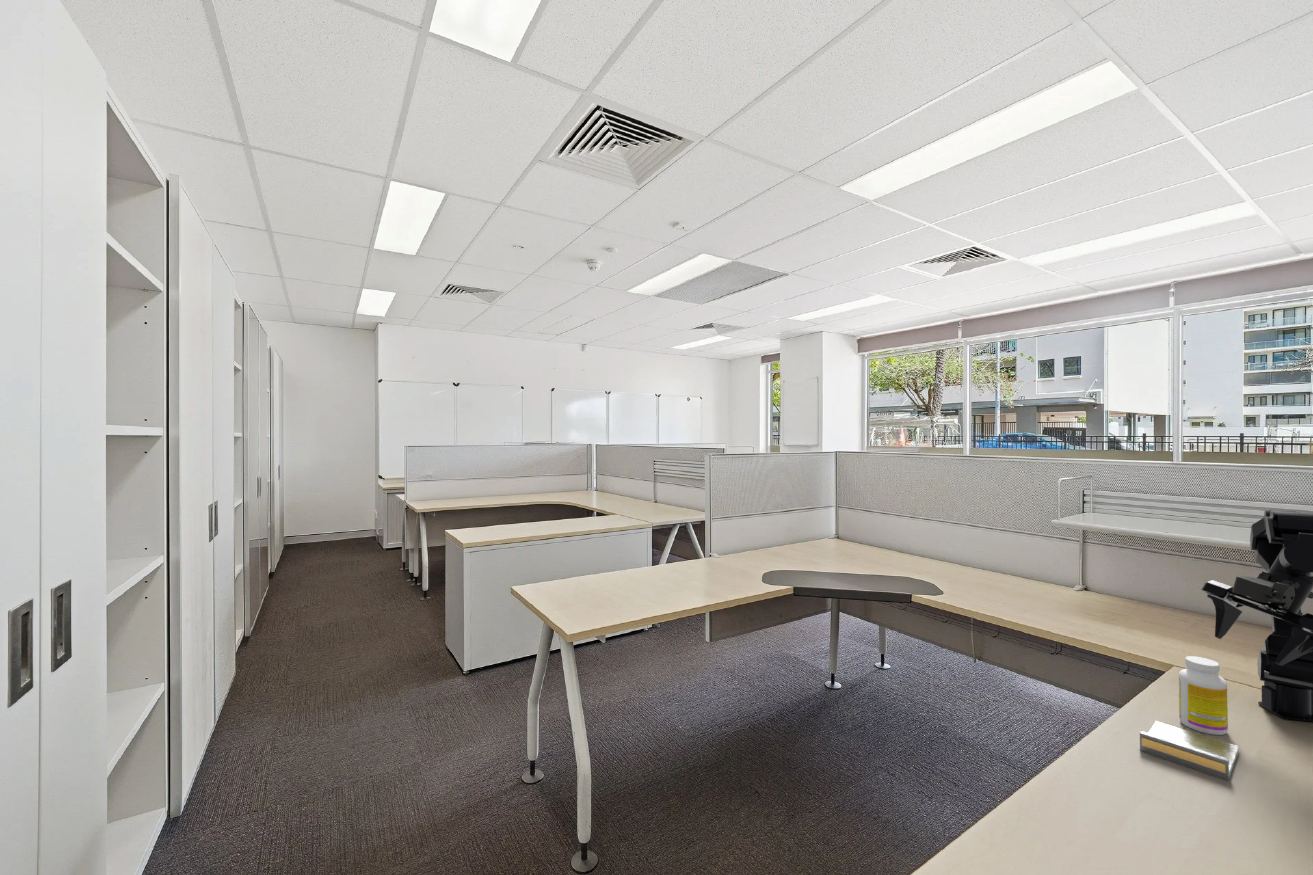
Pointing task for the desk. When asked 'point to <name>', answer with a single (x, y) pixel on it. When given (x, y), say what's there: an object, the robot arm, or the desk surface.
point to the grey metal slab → (1190, 749)
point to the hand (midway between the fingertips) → (1246, 650)
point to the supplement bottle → (1203, 696)
